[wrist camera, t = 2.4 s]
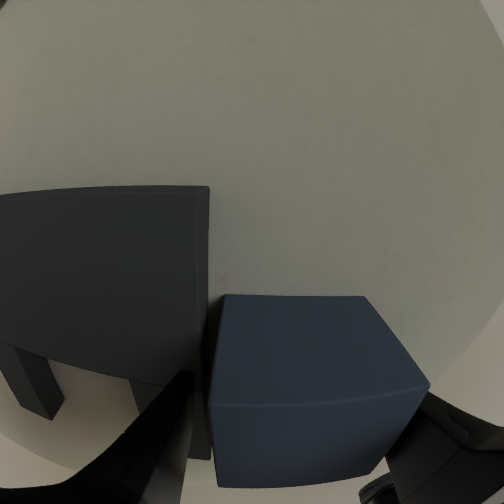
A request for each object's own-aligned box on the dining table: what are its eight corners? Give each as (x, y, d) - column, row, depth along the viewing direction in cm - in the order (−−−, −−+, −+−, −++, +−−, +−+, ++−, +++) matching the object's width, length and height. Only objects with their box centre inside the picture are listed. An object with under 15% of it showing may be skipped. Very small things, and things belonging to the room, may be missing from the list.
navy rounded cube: (339, 386, 11) (370, 475, 6) (224, 389, 11) (217, 487, 6) (365, 295, 10) (432, 384, 5) (224, 293, 10) (206, 403, 5)
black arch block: (213, 431, 12) (210, 461, 10) (34, 387, 12) (20, 406, 10) (210, 185, 8) (199, 192, 6) (-20, 197, 8) (-47, 205, 6)
